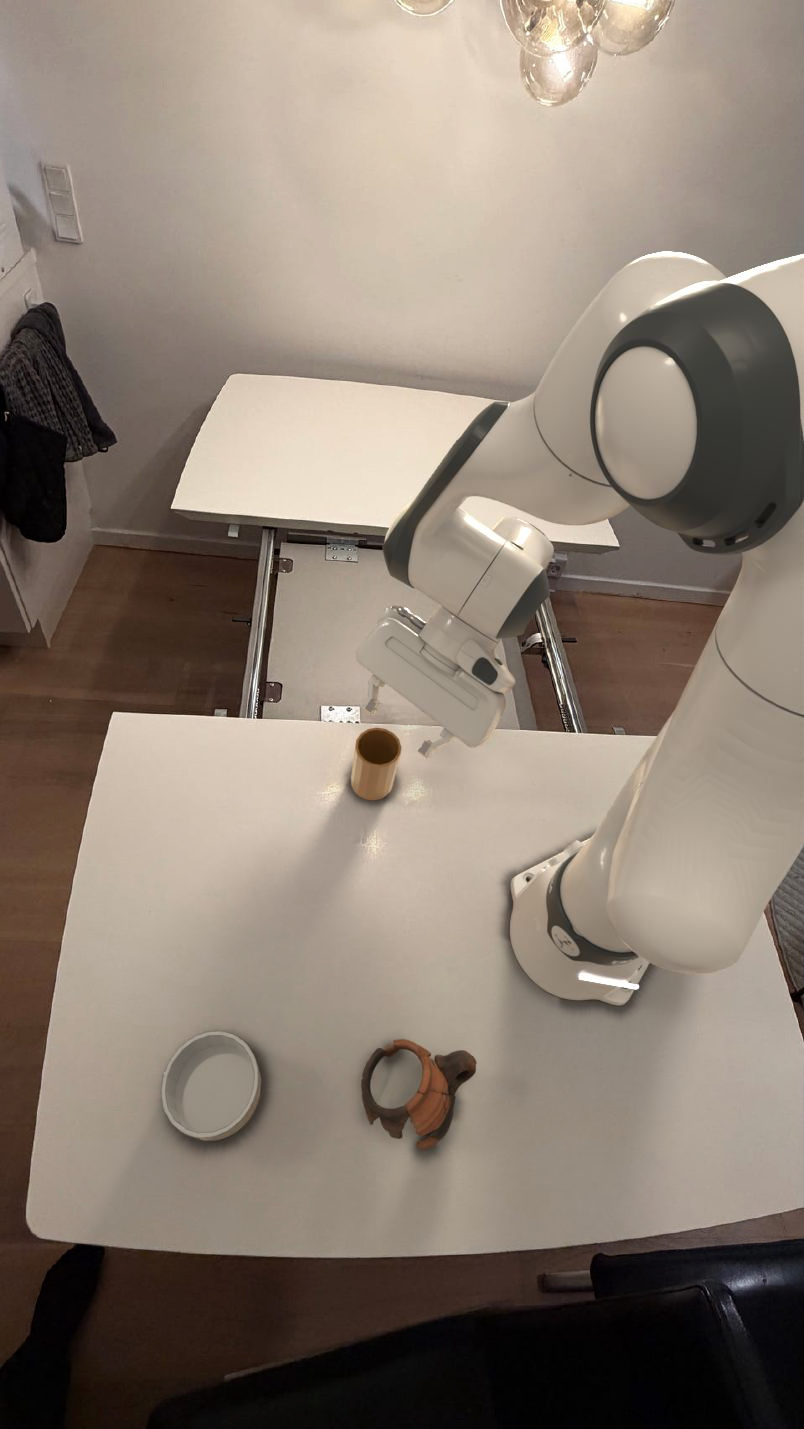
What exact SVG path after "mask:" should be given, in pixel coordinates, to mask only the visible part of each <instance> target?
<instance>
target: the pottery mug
mask: <svg viewBox="0 0 804 1429" xmlns="http://www.w3.org/2000/svg"><path fill="white" fill-rule="evenodd" d="M401 1050H402V1051H403V1050H405V1051H409V1052H411V1053H412V1054H414V1055H415V1056H416V1057H417V1058H418V1060H419V1061H420V1064H421V1068H422V1069H421V1070H422V1074H421V1080H420V1085H419V1087H418V1089H417V1091H416V1093H415V1094H414V1096H413V1097H412V1098H411V1099H410V1100H409V1101H407V1102H406V1103H405V1104H404V1105H402V1106H399V1107H394V1108H388V1107H385V1106H381V1105H379V1104H378V1103H377V1102H376V1101H375V1099H374V1097H373V1094H372V1090H371V1082H372V1077H373V1074H374V1071H375V1069H376V1067H377V1065H378V1064H379V1063H380V1062H381V1060H382V1059H383V1058H384V1057H386V1058H391V1057H393V1056H394V1055H396V1054H397V1053H398V1052H399V1051H401ZM431 1056H432V1052H431V1051H429V1049H426V1048H425V1047H423V1046H421V1045H419V1044H417V1043H416V1042H414V1041H412V1040H409V1039H406V1038H405V1039H404V1038H401V1039H400V1038H399V1039H394V1040H393V1042H392V1044H390V1045H388V1046H387V1047H385V1048H381V1047H378V1048H376V1049H375V1050H374V1051H373V1053H372V1054H371V1055H370V1056H369V1058H368V1060H367V1061H366V1063H365V1065H364V1067H363V1071H362V1075H361V1078H362V1079H361V1082H360V1083H361V1084H360V1089H361V1100H362V1103H363V1107H364V1111H365V1115H366V1118H367V1121H368V1123H369V1126H372V1125H374V1122H375V1121H376V1120H377V1119H379V1122H380V1125H381V1126H382V1128H383V1129H384V1130H385V1131H386V1132H387V1133H388V1135H389V1136H390V1138H392V1139H398V1140H401V1139H403V1130H404V1128H405V1125H406V1123H407V1121H408V1120H409V1118H410V1120H411V1123H412V1125H413V1128H414V1131H415V1135H418V1136H423V1137H424V1136H425V1135H427V1134H428V1135H429V1136H428V1137H426V1138H424V1139H422V1140H419V1141H417V1142H416V1145H415V1146H416V1148H417V1149H418V1150H422V1151H425V1150H428V1149H430V1148H432V1147H434V1146H436V1145H437V1144H438V1143H439V1142H440V1141H441V1140H442V1139H443V1138H444V1137H445V1136H446V1134H447V1133H448V1132H449V1129H450V1128H451V1125H452V1122H453V1119H454V1108H455V1104H456V1103H455V1102H456V1093H457V1091H458V1089H460V1087H461V1086H462V1085H463V1084H464V1083H466V1082H468V1081H469V1080H470V1079H471V1078H472V1077H473V1076H475V1074H476V1071H477V1059H476V1058H475V1057H474V1055H472V1054H471V1053H470V1052H468V1051H467V1050H463V1049H461V1050H459V1049H458V1050H456V1051H455V1050H454V1051H452V1052H450V1053H448V1054H445V1055H442V1054H435V1055H434V1058H433V1059H432V1058H431Z"/></svg>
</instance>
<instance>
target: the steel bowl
mask: <svg viewBox="0 0 804 1429" xmlns="http://www.w3.org/2000/svg"><path fill="white" fill-rule="evenodd" d="M261 1076H262V1075H261V1071H260V1068H259V1064H258V1062H257V1059H256V1056H255V1054H254V1052H253V1051H252V1049H251V1048H250V1046H249V1045H248V1043H247V1042H245V1041H244V1040H242V1038H240V1037H239V1036H238V1035H236V1034H234V1033H230V1032H227V1031H224V1030H213V1031H206V1032H202V1033H200V1034H198V1035H197V1034H196V1035H195V1036H193V1037H191V1038H189V1040H187V1041H186V1042H185V1043H183V1044H181V1045H180V1046H179V1048H178V1049H177V1050H176V1051H175V1053H174V1054H173V1055H172V1057H171V1058H170V1059H169V1061H168V1064H167V1065H166V1068H165V1070H164V1072H163V1074H162V1078H161V1079H162V1080H161V1087H160V1098H161V1103H162V1109H163V1112H164V1114H165V1115H166V1117H167V1119H168V1121H169V1122H170V1124H171V1126H173V1127H175V1128H176V1129H177V1131H179V1132H181V1133H182V1134H183V1135H186V1136H188V1137H191V1138H195V1139H197V1140H201V1141H204V1142H209V1141H210V1142H211V1141H212V1142H213V1141H214V1142H215V1141H220V1140H224V1139H226V1138H229V1137H231V1136H232V1135H234V1134H236V1133H237V1132H239V1131H240V1130H241V1129H243V1127H244V1126H245V1125H246V1124H247V1123H248V1122H249V1121H250V1120H251V1118H252V1116H253V1115H254V1113H255V1111H256V1110H257V1106H258V1104H259V1101H260V1098H261V1091H262V1077H261Z"/></svg>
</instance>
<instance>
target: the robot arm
mask: <svg viewBox="0 0 804 1429" xmlns="http://www.w3.org/2000/svg"><path fill="white" fill-rule="evenodd" d="M470 497H471V498H473V497H477V498H483V499H488V500H491V501H495V502H497V503H501V504H504V505H507V506H508V507H511V508H514V509H515V510H519V512H523V513H525V514H528V515H529V516H532V517H534V518H536V519H539V520H542V521H544V522H547V523H552V524H555V525H562V526H586V525H587V526H588V525H593V524H597V523H602V522H603V521H606V520H608V519H611V518H614V517H615V516H617V515H618V514H620V513H621V512H623V511H625V510H627V508H629V507H630V506H631V507H632V508H633V509H634V510H635V511H636V512H637V513H638V514H640V515H641V516H642V517H644V518H645V519H646V520H647V521H649V522H651V523H652V524H654V525H655V526H658V527H661V528H663V529H666V530H668V531H671V532H675V533H677V534H678V536H679V537H680V539H681V540H682V542H683V543H684V544H685V546H687V547H688V548H689V549H691V550H692V551H695V552H698V553H702V554H708V555H713V556H731V555H739V554H741V555H742V565H741V569H740V572H739V575H738V577H737V580H736V583H735V584H734V586H733V589H732V591H731V592H730V594H729V596H728V598H727V600H726V602H725V604H724V607H723V608H722V610H721V612H720V614H719V616H718V618H717V620H716V623H715V624H714V626H713V629H712V632H711V633H710V635H709V637H708V640H707V642H706V644H705V646H704V648H703V650H702V652H701V653H700V656H699V657H698V660H697V662H696V664H695V666H694V668H693V671H692V672H691V675H690V677H689V679H688V681H687V683H686V686H685V687H684V689H683V691H682V693H681V695H680V698H679V700H678V702H677V704H676V706H675V709H674V710H673V712H672V713H671V715H670V716H669V717H668V719H667V720H666V721H665V723H664V725H663V726H662V728H661V730H660V731H659V733H658V734H657V735H656V737H655V739H654V740H653V741H652V743H651V744H650V746H649V748H648V749H646V752H645V753H644V754H643V755H642V757H641V759H640V761H639V762H638V763H637V765H636V766H635V768H634V769H633V771H632V772H631V774H630V776H629V777H628V779H627V780H626V782H625V784H624V785H623V786H622V788H621V790H620V791H619V793H618V795H617V796H616V798H615V799H614V801H613V802H612V804H611V806H610V808H609V809H608V810H607V813H606V814H605V816H604V818H603V819H602V821H601V823H600V824H599V826H598V827H597V829H596V830H595V832H593V834H592V836H591V837H590V838H587V839H586V840H583V841H580V840H575V841H573V842H571V843H570V844H568V845H567V846H566V847H565V848H564V849H563V851H562V852H559V853H558V854H556V855H554V856H552V857H550V858H548V859H546V860H543V861H542V862H540V863H538V864H536V865H534V866H532V867H529V868H528V869H526V870H524V871H522V872H520V873H518V874H516V875H514V877H512V879H511V880H510V893H511V898H512V910H511V916H510V921H509V939H510V943H511V944H510V945H511V947H512V950H513V953H514V955H515V958H516V960H517V962H518V964H519V965H520V967H521V969H522V970H523V972H524V973H525V974H526V975H527V977H529V979H530V980H531V981H532V982H533V983H534V984H536V985H537V986H538V987H539V988H541V989H542V990H544V991H545V992H547V993H549V994H551V995H553V996H555V997H558V998H561V999H565V1000H570V1001H587V1000H589V1001H590V1000H596V1001H597V1000H598V1001H601V1002H603V1003H606V1004H609V1005H612V1006H624V1005H625V1004H626V1003H627V1002H628V1001H629V1000H630V999H631V997H632V995H633V993H634V991H635V990H638V989H639V988H640V985H639V982H640V981H641V979H642V977H643V975H644V974H645V972H646V970H647V969H648V967H649V965H650V964H651V965H653V966H656V967H658V968H660V969H662V970H666V971H669V972H673V973H678V974H685V975H705V974H713V973H717V972H720V971H723V970H726V969H728V968H731V967H733V966H734V965H735V964H737V963H738V962H739V961H740V959H741V957H742V955H743V954H744V951H745V949H746V947H747V945H748V944H749V941H750V940H751V937H752V935H753V934H754V932H755V930H756V928H757V925H758V923H759V922H760V920H761V918H762V916H763V913H764V912H765V910H766V908H767V906H768V904H769V902H770V901H771V900H772V898H773V896H774V894H775V893H776V891H777V889H778V888H779V886H780V885H781V883H782V882H783V881H784V878H785V877H786V876H787V875H788V872H789V871H790V870H791V868H792V866H793V864H794V863H795V861H796V859H797V858H798V856H799V855H800V853H801V851H802V849H803V848H804V253H802V254H797V255H793V256H790V257H787V258H782V259H779V260H776V261H773V262H770V263H766V264H763V265H761V266H757V267H755V268H751V269H748V270H746V271H743V272H740V273H738V274H735V275H732V276H730V277H727V276H726V275H724V274H723V272H722V271H720V270H719V269H718V268H717V267H715V266H714V265H713V264H711V263H709V262H708V261H706V260H705V259H702V258H700V257H698V256H695V255H692V254H688V253H683V252H676V251H675V252H674V251H661V252H656V253H652V254H647V255H645V256H641V257H639V258H636V259H634V260H633V261H631V262H629V263H628V264H627V265H625V266H624V267H622V268H621V269H620V270H618V271H617V272H616V273H615V274H614V275H613V276H612V277H611V278H610V279H609V280H608V282H607V283H606V284H605V285H604V286H603V288H602V289H601V290H600V291H599V293H597V294H596V296H595V297H594V299H593V300H592V301H591V302H590V303H589V305H588V306H587V308H586V309H585V310H584V312H582V314H581V315H580V317H579V318H578V320H577V321H576V322H575V324H574V325H573V327H572V329H571V330H570V331H569V333H568V334H567V336H566V337H565V339H564V340H563V342H562V343H561V344H560V346H559V348H558V350H557V351H556V352H555V355H554V356H553V358H552V360H551V361H550V362H549V365H548V366H547V368H546V370H545V371H544V373H543V375H542V378H541V379H540V381H539V383H538V385H537V386H536V389H535V390H534V391H533V392H532V393H530V395H528V396H526V397H524V398H521V399H518V400H516V401H512V402H511V401H498V400H497V401H494V402H492V403H490V404H489V405H487V406H486V407H485V408H484V409H482V411H481V412H480V413H479V414H477V415H476V416H475V418H474V419H473V420H472V421H471V422H470V424H468V426H467V428H466V429H465V430H464V431H463V433H462V434H461V435H460V436H459V437H458V439H456V441H455V442H454V443H453V445H452V446H451V447H450V448H449V450H448V452H447V453H446V454H445V455H444V457H443V459H442V460H441V462H439V464H438V466H437V467H436V468H435V470H434V471H433V473H432V474H431V476H430V477H429V478H428V480H427V481H426V482H425V484H424V486H423V487H422V488H421V490H420V491H419V493H418V494H417V496H416V497H415V498H414V499H411V501H409V502H408V503H407V504H406V505H405V506H404V507H403V508H401V510H400V511H399V512H398V514H397V515H396V516H395V517H394V519H393V520H392V522H391V524H390V526H389V527H388V528H387V532H386V534H385V536H384V541H383V545H382V548H381V549H382V553H383V559H384V561H385V565H386V568H387V571H388V574H389V576H390V577H392V578H394V579H396V580H397V581H399V582H401V583H403V584H404V585H406V586H408V587H410V588H411V589H414V590H416V591H418V592H420V593H421V594H422V595H424V596H425V597H427V598H429V599H430V600H432V601H434V602H435V603H436V604H438V605H437V606H436V607H435V609H434V610H433V612H432V613H431V615H430V616H429V618H428V619H427V621H426V620H424V619H422V618H421V617H420V616H418V615H416V614H415V613H413V612H412V611H410V610H409V608H407V607H406V606H404V605H402V604H401V605H389V606H388V607H387V606H386V608H385V609H384V610H383V611H382V612H381V614H380V616H379V617H378V619H377V622H376V625H375V627H373V628H372V630H371V631H370V632H369V634H368V635H366V637H365V638H364V639H363V641H361V643H360V645H359V646H358V648H357V650H356V652H355V661H356V663H357V664H359V665H360V666H361V667H363V668H364V669H365V670H367V671H368V672H369V673H370V674H372V675H371V677H370V678H369V679H368V684H367V698H366V699H365V701H364V703H363V704H362V706H361V709H363V710H364V711H365V712H367V713H368V714H369V715H375V714H376V713H377V712H378V709H379V708H380V707H381V706H382V702H381V701H379V700H378V698H379V691H380V688H385V685H386V686H387V687H389V688H391V689H392V690H393V691H394V692H396V693H397V694H398V695H400V696H401V697H402V698H404V699H405V700H406V701H407V702H408V703H410V704H412V705H413V706H414V707H415V708H417V709H418V710H419V711H421V712H422V713H424V714H425V715H426V716H427V717H429V718H431V720H432V721H434V722H435V723H437V724H438V725H439V726H441V727H442V730H441V732H440V733H439V736H440V737H441V738H440V739H438V740H436V741H431V740H430V739H428V740H427V739H426V740H424V741H423V742H422V744H421V746H420V747H419V749H418V750H417V752H418V753H419V754H420V755H421V756H422V757H424V758H425V759H430V758H431V757H432V756H433V754H434V753H435V752H436V750H437V749H438V748H440V747H442V746H444V745H447V744H449V743H451V742H454V740H455V739H456V738H457V739H458V740H459V741H461V742H462V743H463V744H464V745H465V746H467V747H469V748H471V749H473V748H479V747H482V746H484V745H485V744H486V743H488V740H490V738H491V737H492V735H493V733H494V731H495V729H496V728H497V726H498V724H499V723H500V720H501V718H502V716H503V714H504V712H505V709H506V705H507V702H506V696H505V695H504V694H507V693H509V692H511V691H512V690H513V688H515V686H516V679H515V677H514V675H513V674H512V673H511V672H510V670H509V669H508V668H507V667H506V665H505V664H504V663H503V661H502V660H501V659H500V657H499V656H498V655H497V653H496V652H495V649H496V648H497V646H498V645H499V643H500V642H501V640H502V639H509V638H515V637H518V636H523V635H524V633H525V631H526V629H527V626H528V625H529V623H530V621H531V620H532V619H533V617H534V616H535V614H536V613H537V611H538V610H539V609H540V607H541V606H542V605H543V604H544V602H545V601H546V600H547V599H549V597H551V590H550V582H549V578H548V574H547V568H548V566H549V564H550V562H551V560H552V558H553V556H554V553H555V552H554V551H555V549H554V546H553V543H552V542H551V541H550V539H549V538H548V537H547V536H546V534H545V533H544V532H543V531H542V530H540V529H539V528H538V527H537V526H535V525H533V524H532V523H530V522H528V521H527V520H524V519H522V518H519V517H516V516H504V517H502V518H501V519H500V520H498V522H497V523H496V524H495V525H494V526H493V527H492V528H491V529H490V528H489V527H488V526H486V525H485V524H484V523H481V522H480V521H479V520H477V519H476V518H474V517H473V516H472V515H470V514H469V513H467V512H466V511H465V510H464V509H463V508H462V507H461V505H462V504H463V503H464V502H465V501H466V500H467V499H468V498H470ZM704 541H711V542H713V543H714V546H710V545H705V543H704ZM527 879H528V880H529V881H527Z"/></svg>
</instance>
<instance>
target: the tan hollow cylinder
mask: <svg viewBox="0 0 804 1429" xmlns="http://www.w3.org/2000/svg"><path fill="white" fill-rule="evenodd" d="M401 753H402V744H401V741H400V739H399V738H398V737H397V735H396V734H395V733H394V732H392V731H391V730H389V729H387V728H384V727H383V728H382V727H372V728H367V729H366V730H364V731H363V732H361V733H360V734H359V736H358V737H357V738H356V740H355V746H354V754H353V760H352V768H351V773H350V774H351V775H350V785H351V789H352V790H353V792H354V793H355V794H356V796H358V797H360V798H362V799H363V800H367V801H379V800H382V799H383V798H385V797H387V796H388V795H389V794H390V793H391V791H392V789H393V787H394V782H395V780H396V779H395V778H396V775H397V772H398V771H397V770H398V766H399V762H400V758H401Z"/></svg>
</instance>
